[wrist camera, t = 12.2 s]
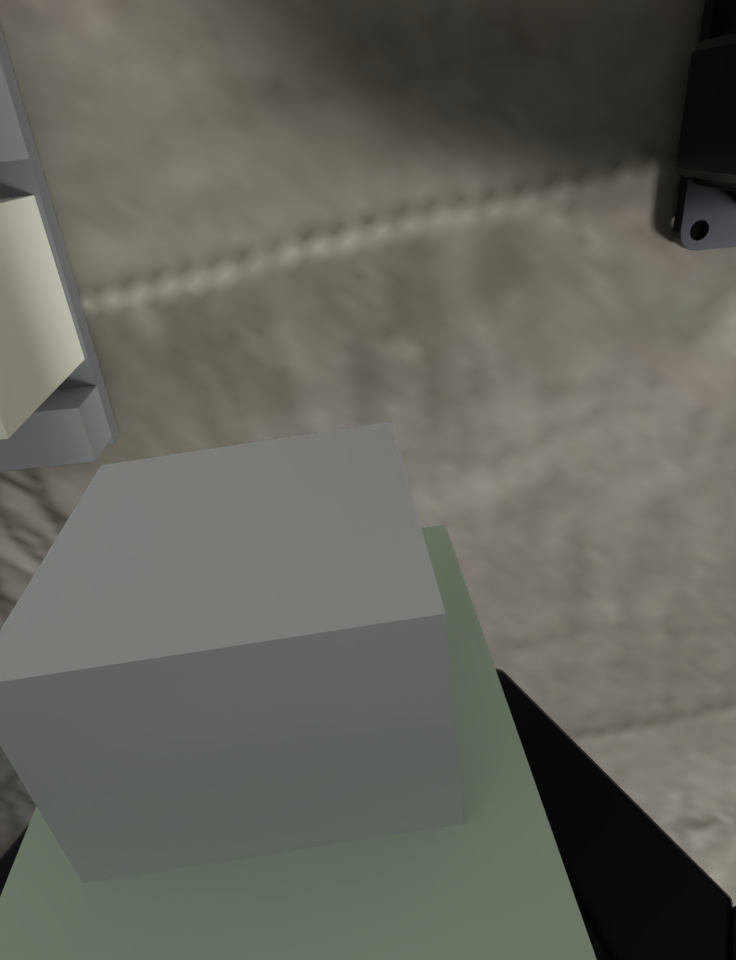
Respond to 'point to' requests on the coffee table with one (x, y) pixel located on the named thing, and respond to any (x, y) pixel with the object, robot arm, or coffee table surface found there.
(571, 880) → the robot arm
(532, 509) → the coffee table surface
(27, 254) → the cream plug
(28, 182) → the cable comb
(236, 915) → the sage plug
